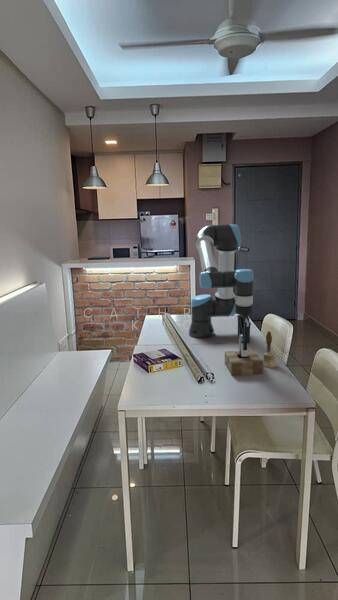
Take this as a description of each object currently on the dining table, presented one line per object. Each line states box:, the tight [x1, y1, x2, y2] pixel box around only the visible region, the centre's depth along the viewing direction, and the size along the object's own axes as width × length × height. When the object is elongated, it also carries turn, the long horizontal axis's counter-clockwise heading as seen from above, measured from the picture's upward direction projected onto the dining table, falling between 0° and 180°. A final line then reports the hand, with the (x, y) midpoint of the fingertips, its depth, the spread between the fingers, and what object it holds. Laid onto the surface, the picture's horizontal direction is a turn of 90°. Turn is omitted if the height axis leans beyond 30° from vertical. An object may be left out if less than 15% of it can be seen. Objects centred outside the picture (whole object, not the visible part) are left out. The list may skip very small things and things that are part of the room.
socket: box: [224, 349, 264, 377], centre depth 167 cm, size 14×14×6 cm
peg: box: [238, 334, 247, 359], centre depth 166 cm, size 4×4×12 cm
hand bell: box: [262, 331, 279, 369], centre depth 170 cm, size 8×8×16 cm
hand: (243, 354), depth 166 cm, fingers closed on peg, 3 cm apart
